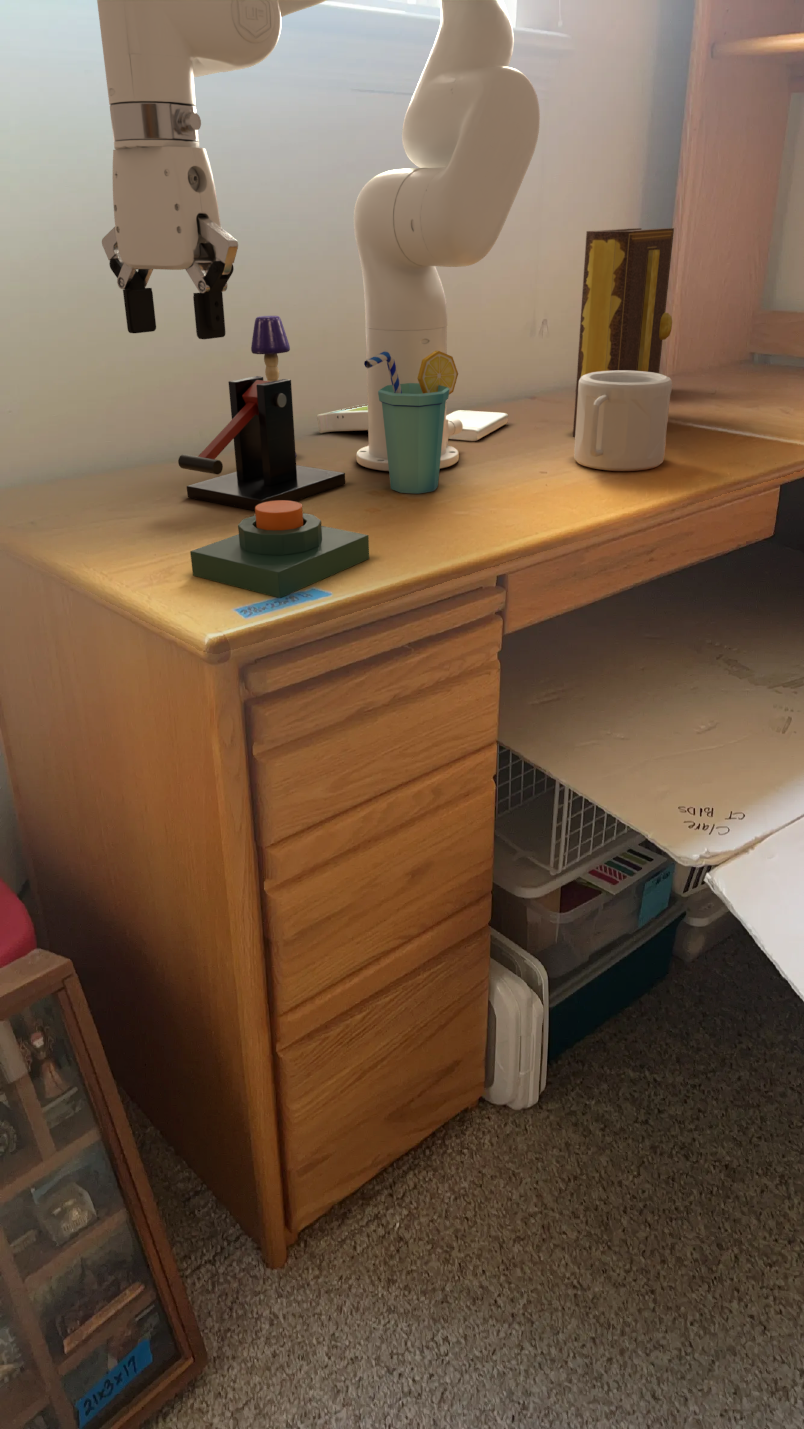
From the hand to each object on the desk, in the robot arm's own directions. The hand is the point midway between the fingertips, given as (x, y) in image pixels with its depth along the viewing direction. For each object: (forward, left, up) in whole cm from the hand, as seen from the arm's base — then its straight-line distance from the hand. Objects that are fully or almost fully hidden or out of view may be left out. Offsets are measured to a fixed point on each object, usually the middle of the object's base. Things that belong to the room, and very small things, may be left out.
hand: (176, 334), depth 96 cm
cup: (-19, +15, -17) cm, 29 cm away
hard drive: (-50, +3, -17) cm, 53 cm away
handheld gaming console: (-38, -6, -15) cm, 41 cm away
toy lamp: (-23, -8, -17) cm, 30 cm away
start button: (+9, +21, -14) cm, 26 cm away
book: (-65, +19, -17) cm, 69 cm away
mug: (-42, +29, -17) cm, 53 cm away
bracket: (-10, +2, -17) cm, 20 cm away
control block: (+9, +21, -17) cm, 28 cm away
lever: (-6, +2, -11) cm, 12 cm away
